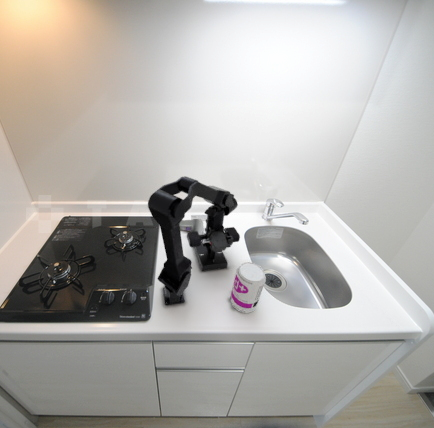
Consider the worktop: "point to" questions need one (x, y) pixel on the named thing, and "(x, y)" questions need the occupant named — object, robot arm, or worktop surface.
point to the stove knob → (212, 252)
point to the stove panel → (210, 259)
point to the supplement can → (247, 287)
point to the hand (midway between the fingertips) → (210, 253)
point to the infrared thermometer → (192, 225)
